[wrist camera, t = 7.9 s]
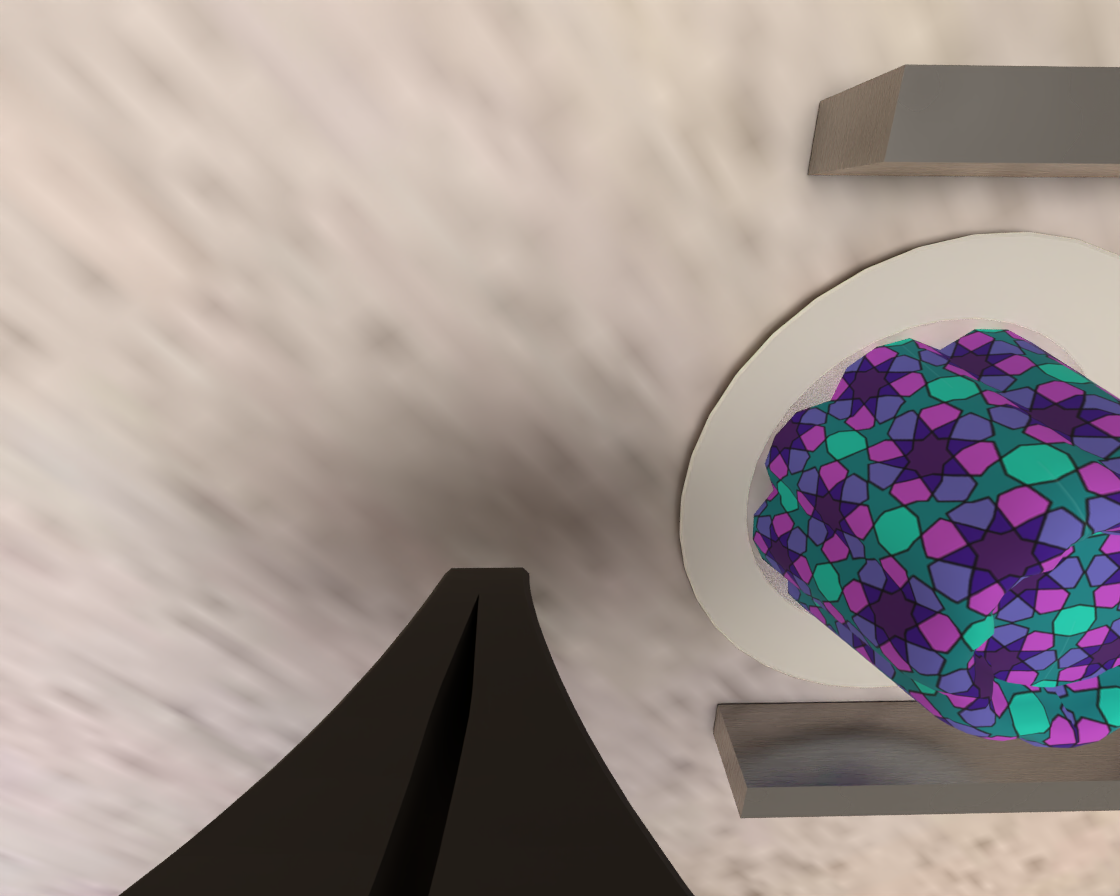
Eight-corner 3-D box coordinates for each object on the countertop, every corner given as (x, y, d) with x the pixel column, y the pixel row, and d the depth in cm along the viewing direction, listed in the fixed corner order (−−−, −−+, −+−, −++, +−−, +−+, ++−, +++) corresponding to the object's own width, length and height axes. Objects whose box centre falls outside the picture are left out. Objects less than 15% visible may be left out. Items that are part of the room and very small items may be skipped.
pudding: (682, 689, 16) (741, 893, 11) (658, 274, 11) (743, 316, 6) (1091, 641, 16) (1335, 831, 11) (1245, 191, 11) (1805, 168, 6)
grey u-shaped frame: (1196, 724, 17) (1301, 806, 14) (713, 733, 16) (740, 818, 14) (1611, 110, 10) (1928, 78, 8) (820, 101, 10) (905, 63, 7)
